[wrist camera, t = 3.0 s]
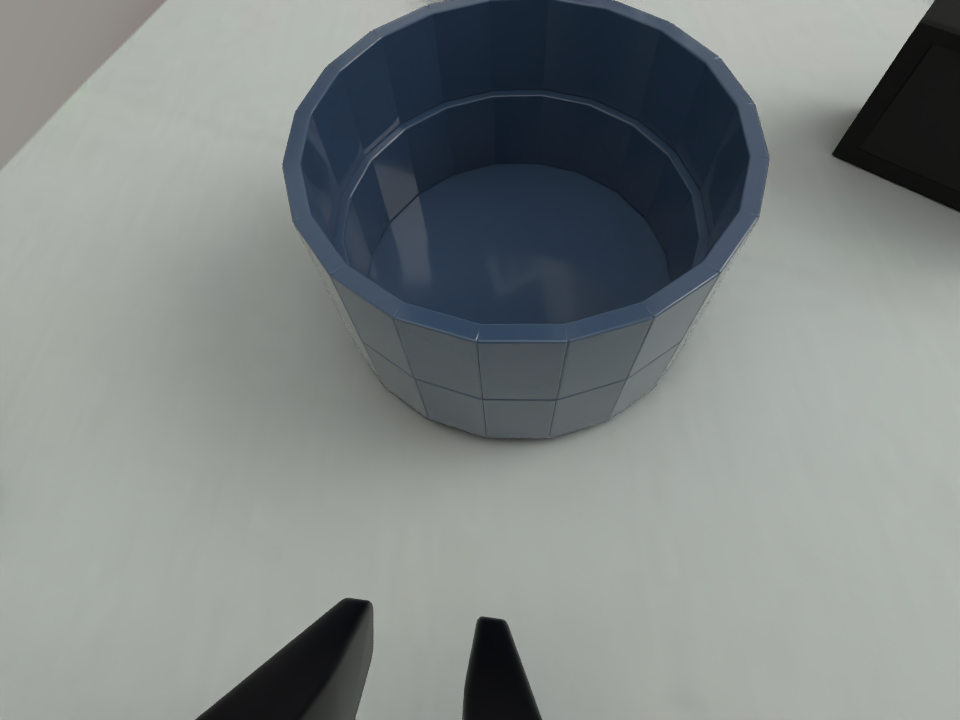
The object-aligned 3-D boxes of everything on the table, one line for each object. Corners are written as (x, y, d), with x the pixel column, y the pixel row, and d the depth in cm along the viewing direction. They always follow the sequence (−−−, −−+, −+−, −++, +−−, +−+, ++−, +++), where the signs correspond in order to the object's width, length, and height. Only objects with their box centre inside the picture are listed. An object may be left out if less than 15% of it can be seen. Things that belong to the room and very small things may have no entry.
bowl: (762, 314, 25) (877, 168, 17) (472, 520, 21) (452, 453, 14) (547, 117, 30) (560, -58, 23) (293, 254, 27) (210, 103, 20)
